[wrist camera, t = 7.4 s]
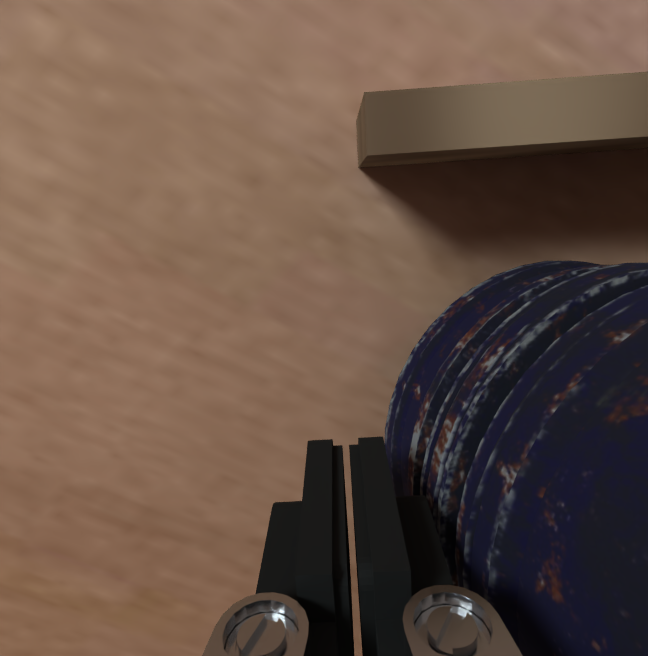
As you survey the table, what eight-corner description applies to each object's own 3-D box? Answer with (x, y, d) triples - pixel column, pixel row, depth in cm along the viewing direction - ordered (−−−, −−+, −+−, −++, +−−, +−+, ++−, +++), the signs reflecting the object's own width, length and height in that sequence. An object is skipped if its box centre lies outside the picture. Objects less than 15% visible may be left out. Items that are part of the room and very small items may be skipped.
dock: (380, 663, 18) (394, 801, 14) (356, 120, 13) (366, 83, 9) (794, 650, 17) (937, 788, 13) (917, 81, 13) (1195, 23, 9)
